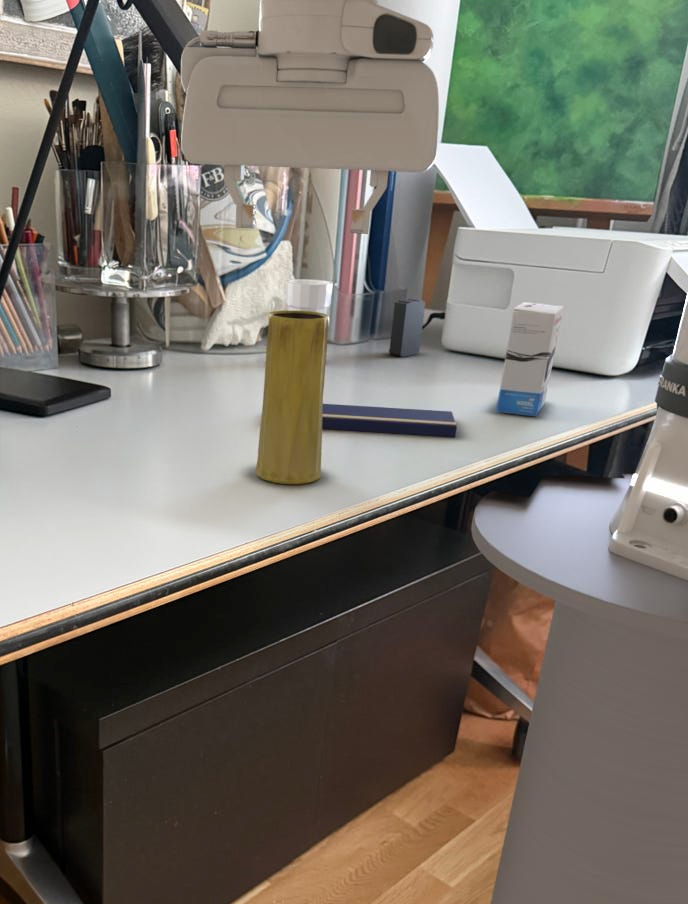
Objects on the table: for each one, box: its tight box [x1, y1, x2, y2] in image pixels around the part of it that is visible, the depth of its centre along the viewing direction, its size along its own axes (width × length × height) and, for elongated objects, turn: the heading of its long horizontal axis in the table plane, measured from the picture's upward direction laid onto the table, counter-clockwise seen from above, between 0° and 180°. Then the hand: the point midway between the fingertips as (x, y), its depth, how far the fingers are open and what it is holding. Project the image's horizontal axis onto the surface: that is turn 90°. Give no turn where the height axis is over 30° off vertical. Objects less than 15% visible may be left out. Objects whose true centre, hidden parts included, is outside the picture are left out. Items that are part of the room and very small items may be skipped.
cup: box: [285, 278, 334, 315], centre depth 135 cm, size 7×7×11 cm
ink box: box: [495, 301, 565, 417], centre depth 111 cm, size 8×5×12 cm, turn 155°
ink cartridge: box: [388, 298, 426, 358], centre depth 143 cm, size 5×2×8 cm, turn 133°
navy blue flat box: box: [322, 403, 458, 438], centre depth 105 cm, size 20×7×1 cm, turn 81°
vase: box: [254, 310, 330, 485], centre depth 84 cm, size 6×6×14 cm
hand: (301, 230), depth 77 cm, fingers open, 8 cm apart
